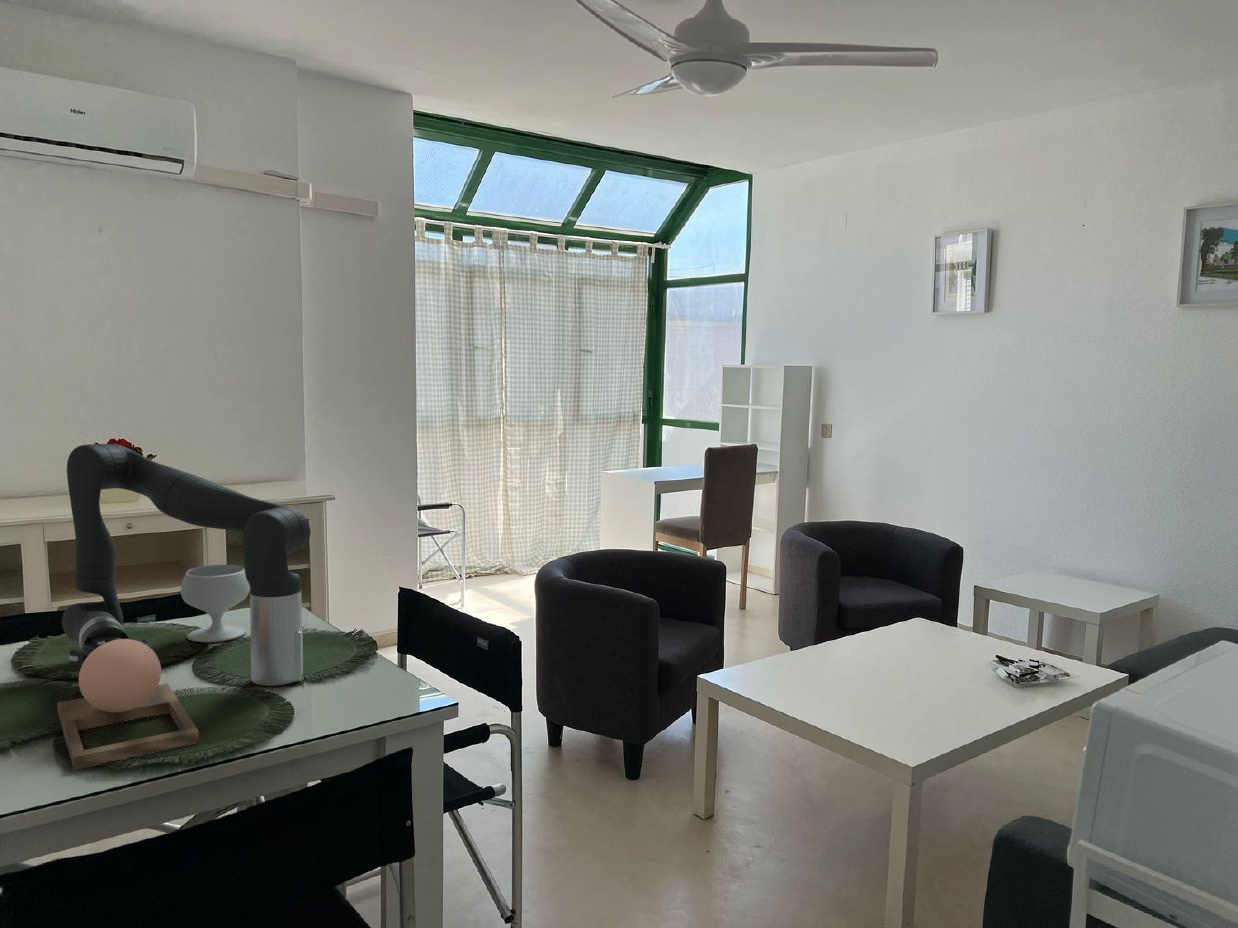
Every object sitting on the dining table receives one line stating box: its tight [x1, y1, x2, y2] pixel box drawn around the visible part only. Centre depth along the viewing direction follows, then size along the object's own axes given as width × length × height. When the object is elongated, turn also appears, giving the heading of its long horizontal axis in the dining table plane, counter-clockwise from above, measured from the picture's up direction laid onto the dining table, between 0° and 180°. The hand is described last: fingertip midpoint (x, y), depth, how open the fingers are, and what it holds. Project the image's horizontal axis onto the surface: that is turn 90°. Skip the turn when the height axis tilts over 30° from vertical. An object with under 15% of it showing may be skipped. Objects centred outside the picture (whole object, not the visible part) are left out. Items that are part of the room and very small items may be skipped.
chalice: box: [180, 564, 250, 643], centre depth 194 cm, size 14×14×15 cm
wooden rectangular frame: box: [57, 683, 200, 771], centre depth 143 cm, size 17×26×2 cm, turn 37°
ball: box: [78, 638, 162, 713], centre depth 145 cm, size 12×12×12 cm
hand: (116, 665), depth 150 cm, fingers closed
